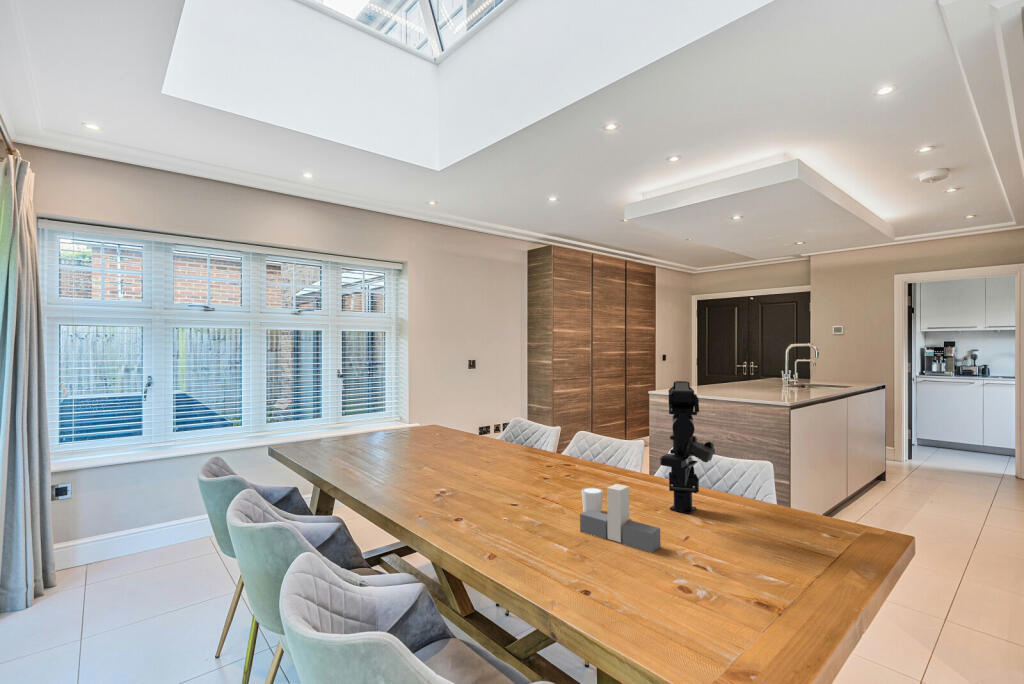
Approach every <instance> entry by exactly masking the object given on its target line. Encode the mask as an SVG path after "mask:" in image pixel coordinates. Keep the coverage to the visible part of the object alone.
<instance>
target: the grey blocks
mask: <svg viewBox="0 0 1024 684" xmlns="http://www.w3.org/2000/svg"><path fill="white" fill-rule="evenodd" d="M622 527H623V541H622V545H623V544H625V545H624V546H627V545H628V546H627V547H630V546H631V547H630V548H633V547H635V548H634V549H637V548H638V549H637V550H640V549H641V550H640V551H643V550H645V551H644V552H647V551H648V552H647V553H650V552H651V553H650V554H653V553H654V552H655V550H656V551H657V550H658V549H660V548H661V547H662V546H661V527H658V526H655V525H650V524H647V523H642V522H638V521H635V520H632V518H629V520H627V523H626V524H624V525H623V526H622ZM579 529H580V531H582V532H581V533H584V532H585V533H584V534H587V533H588V534H587V535H590V534H592V535H591V536H594V535H595V536H594V537H597V536H598V537H597V538H600V537H601V539H604V538H605V539H604V540H607V539H608V531H607V513H604V512H602V511H601V512H597V511H593V510H587V511H585V512H584V511H583V512H581V513H579ZM580 531H579V532H580ZM606 538H607V539H606ZM659 547H660V548H659Z"/></svg>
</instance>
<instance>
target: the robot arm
mask: <svg viewBox="0 0 1024 684" xmlns="http://www.w3.org/2000/svg"><path fill="white" fill-rule="evenodd" d="M698 413H700V401H699V397H698V395H697V393H695V389H693V388H692V387H691V386H690V381H685V380H679V381H678V380H676V381H673V386H672V387H669V390H668V414H669V415H673V416H672V435H670V436H669V437H670V438H669V440H672V448H671V449H670V450H669V451H670V452H669V453H666V454H664V455H662V456H661V457H660V458H659V465H660V466H663V467H669V468H671V469H670V470H671V471H669V472H668V488H669V489H668V490H669V492H673V505H672V506H670V507H669V510H671V511H676V512H680V513H684V514H687V515H689V514H691V513H693V512H694V511H696V510H697V507H696V506H693V494H697V493H699V491H700V488H699V485H700V479H699V476H697V473H695V467H694V465H696V464H697V463H698V461H696V460H693V457H695V458H696V459H699V460H701V461H702V462H703V463H709V461H712V458H713V456H714V455H715V454H716V452H715V451H716V449H715V448H714V447H715V446H714V442H711V441H706V442H705V443H703V442H699V441H698V439H697V437H696V435H694V433H695V429H696V428H695V424H694V417H693V416H698Z"/></svg>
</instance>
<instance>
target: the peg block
mask: <svg viewBox="0 0 1024 684" xmlns="http://www.w3.org/2000/svg"><path fill="white" fill-rule="evenodd" d="M606 498H607V499H606V505H607V506H606V509H607V510H606V511H607V512H606V514H607V531H608V538H607V539H608V540H611V541H614V542H617V543H621V544H622V543H623V527H622V526H623V525H624V524H626V523H627V520H629V519H630V486H628V485H625V484H624V485H623V484H619V483H614V484H612V485H610V486H607V487H606Z"/></svg>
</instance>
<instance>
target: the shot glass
mask: <svg viewBox="0 0 1024 684" xmlns="http://www.w3.org/2000/svg"><path fill="white" fill-rule="evenodd" d="M603 495H604V490H603V489H601V488H598V487H585V488H582V489H581V499H582V501H581V502H582V509H583V512H585V511H587V510H593V511H597V512H601V513H602V511H603V510H602V509H603Z"/></svg>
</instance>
